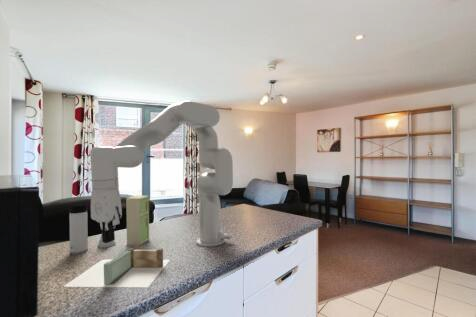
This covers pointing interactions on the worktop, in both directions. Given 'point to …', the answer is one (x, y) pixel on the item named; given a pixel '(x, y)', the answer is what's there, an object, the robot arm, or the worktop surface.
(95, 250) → the worktop surface
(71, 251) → the travel mug
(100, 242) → the flask
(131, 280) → the card
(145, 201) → the toy refrigerator
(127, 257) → the mint green long bar
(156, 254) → the fixed fence section
